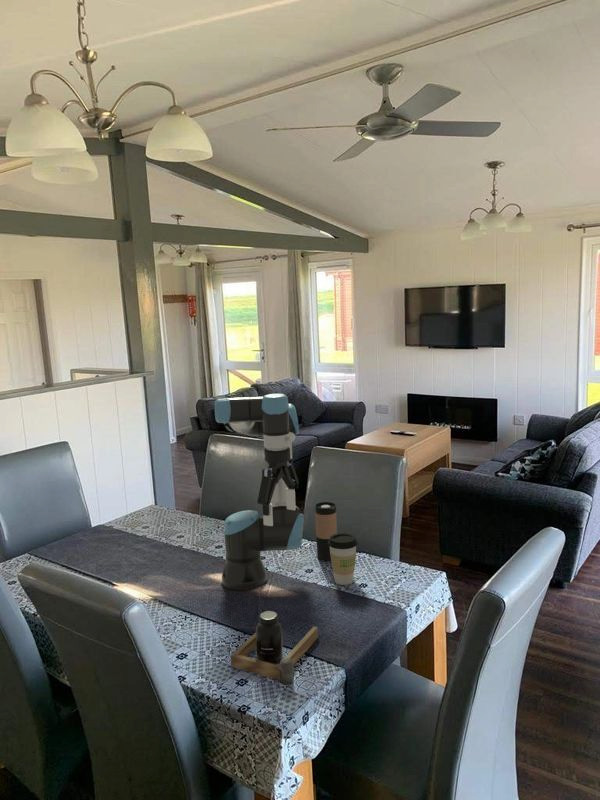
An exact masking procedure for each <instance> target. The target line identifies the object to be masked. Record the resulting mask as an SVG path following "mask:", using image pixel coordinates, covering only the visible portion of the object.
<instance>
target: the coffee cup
mask: <svg viewBox="0 0 600 800" xmlns="http://www.w3.org/2000/svg"><path fill="white" fill-rule="evenodd" d="M358 544H359V543H358V540H357V538H356V536H355V535H354V534H352V533H347V532H346V533H345V532H340V533H338V532H337V534H334V535H332V536H331V537H330V540H329V541H328V545H329V546H330V556H331V561H330V562H331V568H332V572H333V579H334V583H336V584H337V585H341V586H347V585H351V584H353V582H354V576H355V574H354V573H355V571H356V570H355V566H356V559H357V558H356V557H357V546H358Z"/></svg>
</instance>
